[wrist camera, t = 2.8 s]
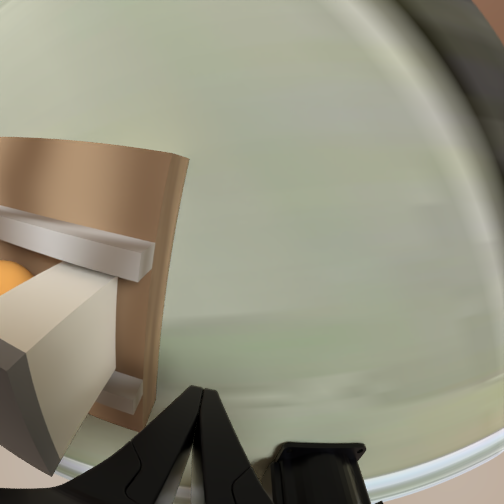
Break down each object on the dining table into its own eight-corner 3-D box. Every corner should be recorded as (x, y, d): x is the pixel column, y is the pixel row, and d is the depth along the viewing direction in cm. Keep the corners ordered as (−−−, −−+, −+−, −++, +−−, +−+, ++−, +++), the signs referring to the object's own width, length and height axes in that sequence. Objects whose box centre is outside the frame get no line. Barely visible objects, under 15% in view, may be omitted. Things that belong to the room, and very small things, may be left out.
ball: (61, 261, 10) (-1, 295, 6) (64, 339, 11) (19, 386, 7) (4, 242, 10) (-54, 264, 6) (9, 314, 11) (-37, 348, 7)
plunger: (118, 274, 10) (6, 371, 4) (115, 368, 11) (51, 476, 5) (66, 259, 10) (-52, 328, 4) (70, 351, 11) (-5, 440, 5)
